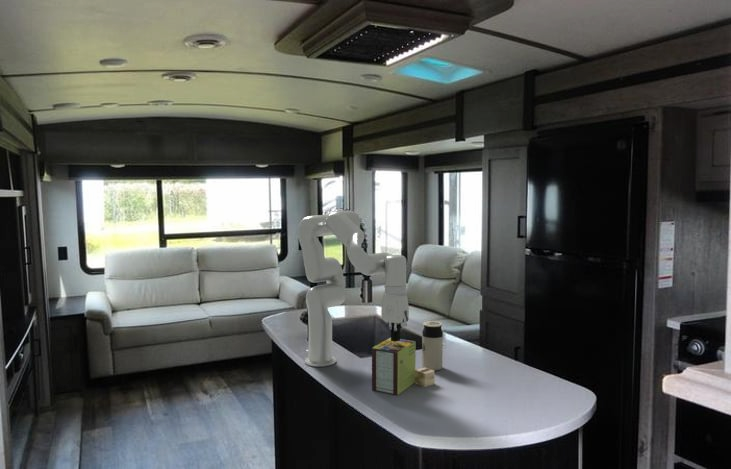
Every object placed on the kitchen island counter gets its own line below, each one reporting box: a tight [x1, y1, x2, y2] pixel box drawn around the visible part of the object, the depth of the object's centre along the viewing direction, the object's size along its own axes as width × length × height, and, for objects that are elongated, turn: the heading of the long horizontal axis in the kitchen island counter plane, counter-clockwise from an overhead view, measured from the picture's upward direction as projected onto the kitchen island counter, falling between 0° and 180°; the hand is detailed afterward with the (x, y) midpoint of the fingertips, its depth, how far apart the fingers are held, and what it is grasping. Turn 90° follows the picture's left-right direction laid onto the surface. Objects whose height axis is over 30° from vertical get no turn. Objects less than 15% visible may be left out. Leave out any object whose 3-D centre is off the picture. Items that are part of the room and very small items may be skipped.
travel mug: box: [421, 320, 444, 372], centre depth 217 cm, size 8×8×18 cm
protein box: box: [371, 337, 417, 396], centre depth 197 cm, size 10×15×16 cm
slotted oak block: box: [414, 367, 436, 388], centre depth 200 cm, size 5×5×5 cm
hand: (395, 340), depth 196 cm, fingers closed
